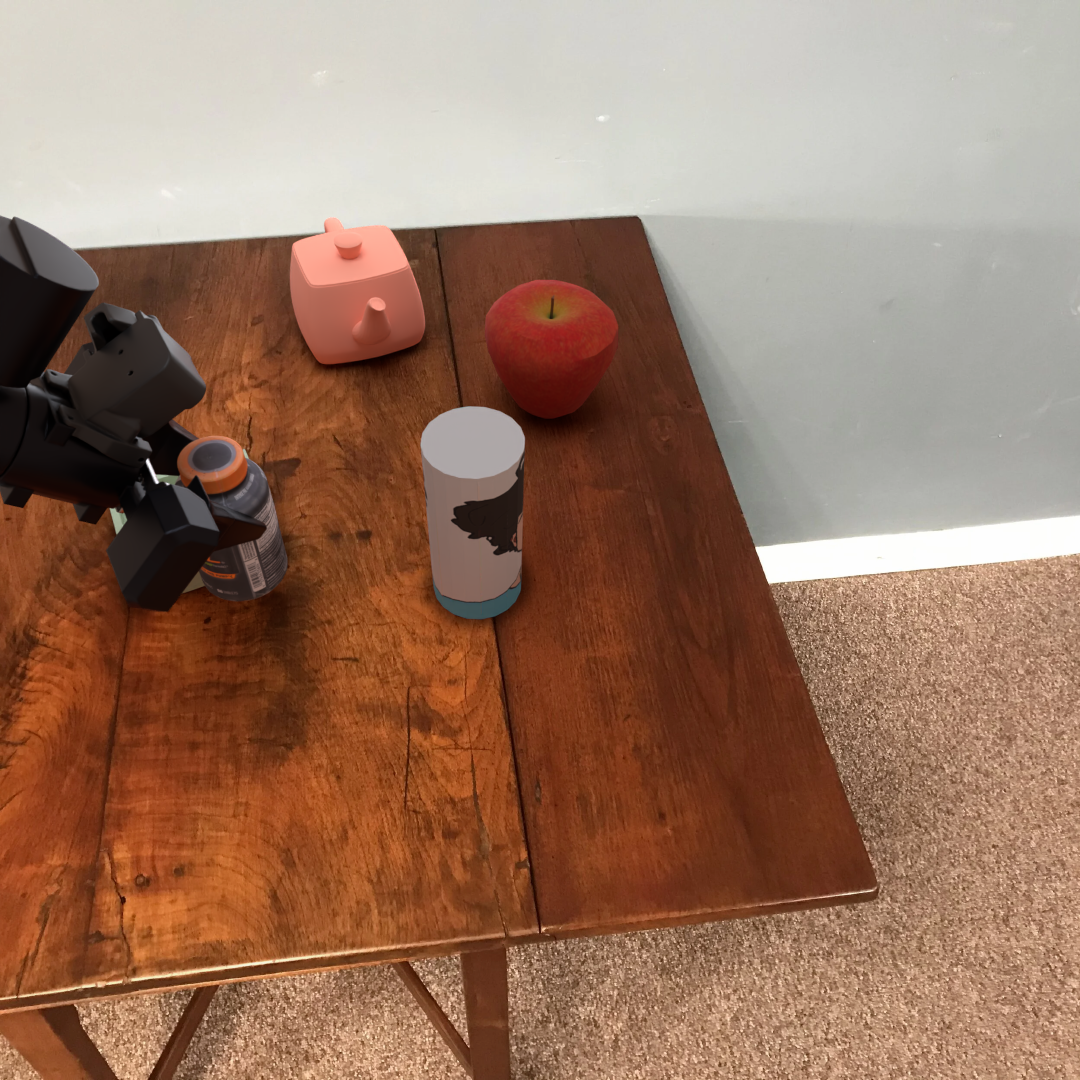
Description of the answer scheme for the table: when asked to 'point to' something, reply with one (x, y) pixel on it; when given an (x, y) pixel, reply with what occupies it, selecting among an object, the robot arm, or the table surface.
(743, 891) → the table surface
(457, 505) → the white cylindrical canister
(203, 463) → the pill bottle
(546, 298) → the apple
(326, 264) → the teapot
